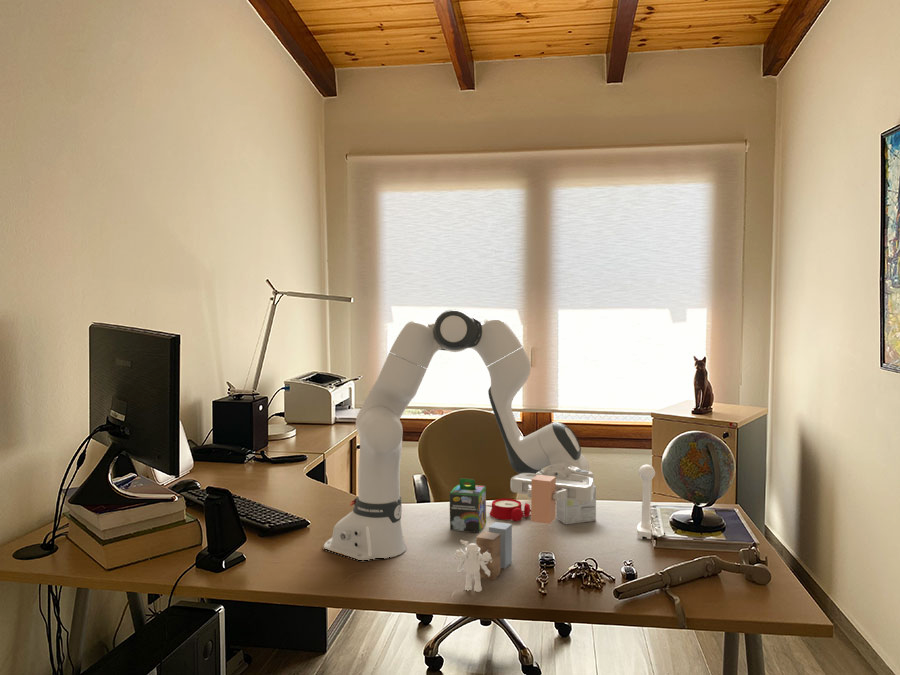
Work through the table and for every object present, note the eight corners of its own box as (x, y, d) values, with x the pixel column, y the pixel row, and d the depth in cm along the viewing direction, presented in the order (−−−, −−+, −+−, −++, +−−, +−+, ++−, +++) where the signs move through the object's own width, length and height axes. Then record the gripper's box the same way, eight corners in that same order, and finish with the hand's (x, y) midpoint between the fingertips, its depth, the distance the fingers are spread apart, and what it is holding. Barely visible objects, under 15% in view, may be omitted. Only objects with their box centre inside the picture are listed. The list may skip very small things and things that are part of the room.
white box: (585, 514, 217) (586, 480, 217) (596, 521, 211) (597, 486, 210) (554, 518, 214) (555, 483, 213) (565, 525, 208) (565, 489, 207)
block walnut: (476, 577, 170) (476, 536, 169) (483, 570, 174) (483, 531, 173) (493, 580, 168) (493, 539, 167) (500, 573, 172) (500, 533, 172)
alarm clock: (498, 496, 225) (538, 494, 216) (502, 515, 224) (542, 514, 215) (480, 504, 217) (520, 502, 208) (483, 524, 216) (524, 523, 207)
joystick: (641, 526, 206) (643, 459, 205) (668, 530, 203) (669, 462, 202) (633, 538, 197) (635, 468, 195) (661, 542, 193) (662, 471, 192)
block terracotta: (531, 521, 163) (531, 479, 162) (537, 515, 167) (537, 474, 166) (549, 523, 161) (550, 481, 160) (555, 518, 165) (555, 476, 164)
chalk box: (486, 523, 209) (486, 474, 208) (479, 533, 201) (479, 483, 200) (457, 520, 212) (457, 472, 211) (448, 530, 203) (448, 480, 202)
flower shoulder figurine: (452, 590, 162) (452, 540, 162) (457, 583, 166) (457, 534, 165) (490, 595, 160) (490, 544, 159) (494, 588, 164) (494, 538, 163)
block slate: (488, 565, 177) (488, 527, 177) (495, 559, 181) (495, 521, 181) (505, 568, 175) (505, 529, 175) (511, 562, 179) (511, 524, 179)
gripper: (520, 464, 179) (500, 477, 167) (599, 473, 171) (585, 487, 158) (520, 488, 180) (500, 503, 167) (599, 498, 171) (584, 514, 159)
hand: (542, 495), depth 163 cm, fingers closed on block terracotta, 4 cm apart
